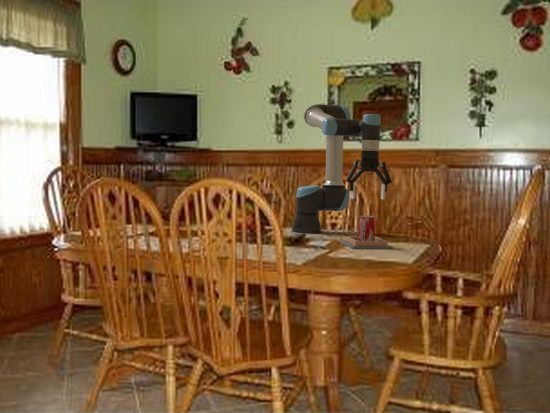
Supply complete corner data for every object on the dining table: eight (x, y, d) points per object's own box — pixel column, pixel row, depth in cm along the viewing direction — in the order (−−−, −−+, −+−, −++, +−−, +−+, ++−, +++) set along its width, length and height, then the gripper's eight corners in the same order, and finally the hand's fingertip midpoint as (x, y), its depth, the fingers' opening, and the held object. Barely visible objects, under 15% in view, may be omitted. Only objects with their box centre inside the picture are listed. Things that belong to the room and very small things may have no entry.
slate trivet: (340, 242, 262) (340, 235, 261) (377, 242, 265) (378, 236, 265) (352, 248, 244) (352, 241, 244) (392, 249, 247) (393, 242, 247)
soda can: (375, 244, 251) (376, 217, 250) (358, 244, 251) (360, 216, 250) (373, 242, 258) (374, 215, 257) (357, 241, 258) (358, 215, 257)
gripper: (345, 149, 245) (342, 199, 247) (400, 151, 249) (398, 200, 251) (340, 149, 252) (337, 197, 254) (394, 151, 257) (391, 198, 259)
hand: (367, 199), depth 253 cm, fingers open, 13 cm apart
